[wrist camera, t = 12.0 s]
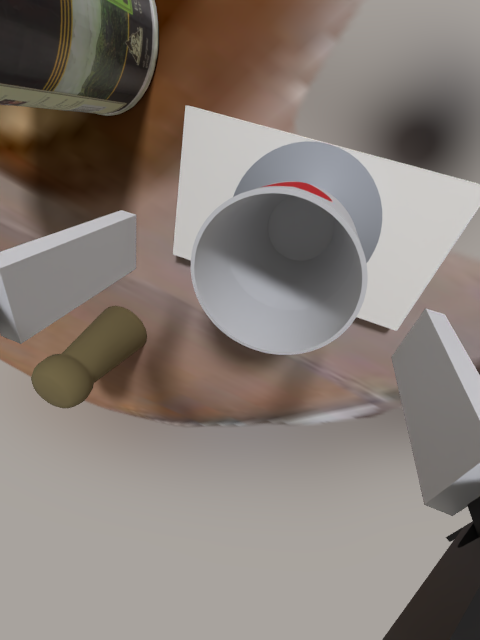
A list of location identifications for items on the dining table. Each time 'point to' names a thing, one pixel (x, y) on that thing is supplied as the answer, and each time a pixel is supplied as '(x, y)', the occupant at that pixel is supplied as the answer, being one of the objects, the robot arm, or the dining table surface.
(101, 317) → the olive peg figure
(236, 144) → the board
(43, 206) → the dining table surface
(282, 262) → the cup
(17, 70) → the coffee can
